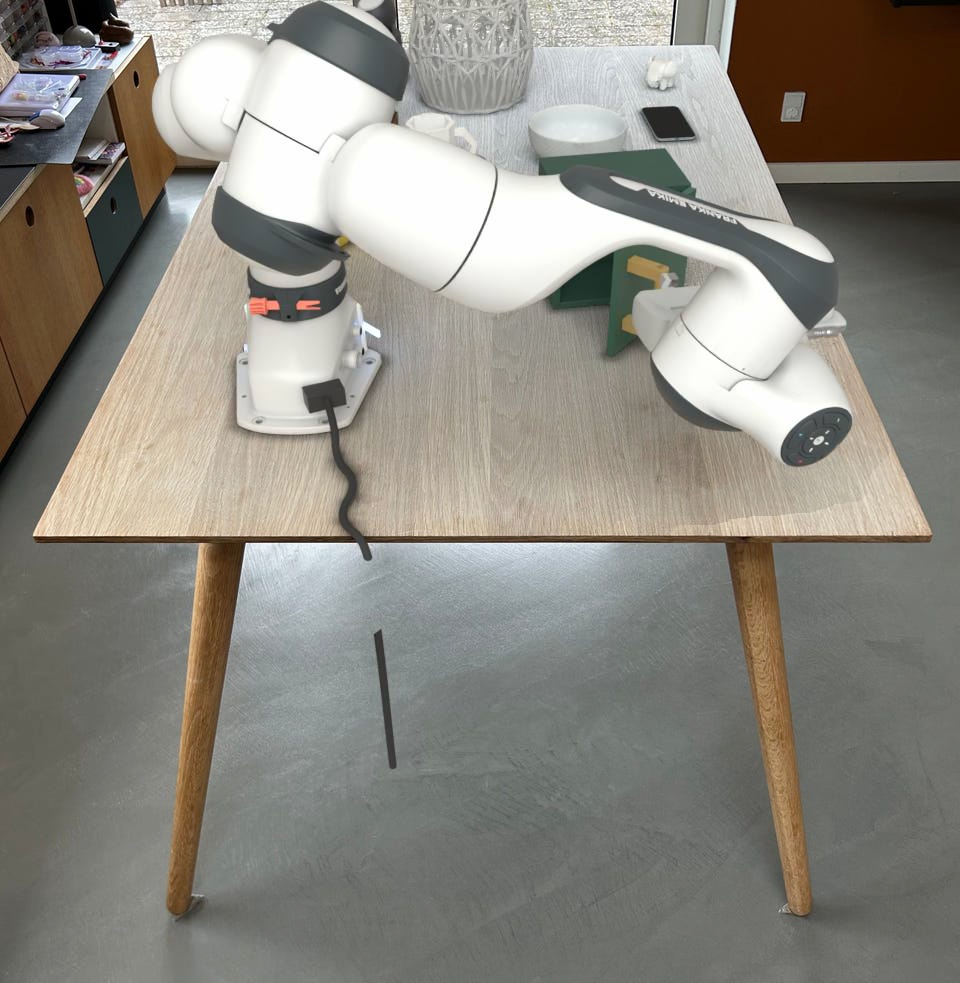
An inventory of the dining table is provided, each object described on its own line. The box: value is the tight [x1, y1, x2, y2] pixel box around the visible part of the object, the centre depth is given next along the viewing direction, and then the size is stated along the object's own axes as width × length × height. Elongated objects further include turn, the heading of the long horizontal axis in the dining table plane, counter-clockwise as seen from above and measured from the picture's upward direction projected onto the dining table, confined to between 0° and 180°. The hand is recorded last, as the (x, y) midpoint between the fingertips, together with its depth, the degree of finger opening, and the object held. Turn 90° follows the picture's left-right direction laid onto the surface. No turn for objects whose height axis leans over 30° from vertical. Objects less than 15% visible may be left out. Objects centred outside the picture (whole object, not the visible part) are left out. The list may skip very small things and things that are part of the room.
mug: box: [404, 112, 479, 154], centre depth 176 cm, size 12×9×10 cm
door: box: [605, 186, 697, 358], centre depth 135 cm, size 6×18×17 cm, turn 142°
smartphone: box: [640, 105, 696, 142], centre depth 195 cm, size 7×1×15 cm
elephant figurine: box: [645, 54, 679, 91], centre depth 209 cm, size 7×8×6 cm
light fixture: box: [356, 0, 404, 48], centre depth 211 cm, size 13×16×14 cm
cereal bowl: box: [527, 103, 628, 158], centre depth 182 cm, size 17×17×7 cm
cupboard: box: [537, 147, 692, 310], centre depth 146 cm, size 12×18×17 cm, turn 99°
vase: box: [408, 0, 535, 115], centre depth 199 cm, size 24×24×30 cm
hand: (708, 274), depth 113 cm, fingers open, 8 cm apart
